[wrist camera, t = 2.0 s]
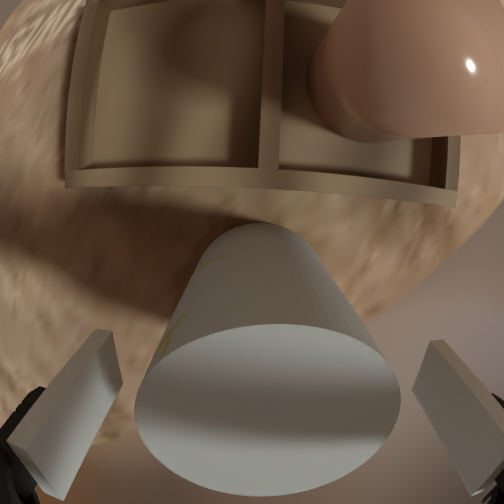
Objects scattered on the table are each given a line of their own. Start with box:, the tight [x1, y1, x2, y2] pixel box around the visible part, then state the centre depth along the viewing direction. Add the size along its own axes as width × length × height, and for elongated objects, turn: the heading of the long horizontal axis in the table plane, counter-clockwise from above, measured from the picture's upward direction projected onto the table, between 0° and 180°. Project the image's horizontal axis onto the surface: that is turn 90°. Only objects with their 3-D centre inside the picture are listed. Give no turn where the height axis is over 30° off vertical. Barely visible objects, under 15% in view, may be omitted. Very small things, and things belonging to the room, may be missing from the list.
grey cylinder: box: [134, 223, 401, 496], centre depth 14 cm, size 8×8×12 cm
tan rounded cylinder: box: [306, 0, 504, 143], centre depth 11 cm, size 7×7×10 cm
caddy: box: [65, 0, 460, 208], centre depth 15 cm, size 23×13×2 cm, turn 87°
